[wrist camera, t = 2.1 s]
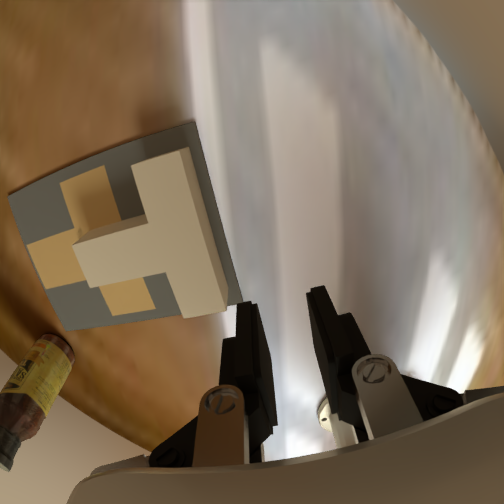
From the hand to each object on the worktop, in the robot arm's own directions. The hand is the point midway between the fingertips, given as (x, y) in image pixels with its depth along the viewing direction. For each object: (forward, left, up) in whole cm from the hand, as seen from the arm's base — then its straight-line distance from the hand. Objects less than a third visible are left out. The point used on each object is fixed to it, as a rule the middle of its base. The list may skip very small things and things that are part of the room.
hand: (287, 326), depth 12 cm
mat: (+16, 0, -17) cm, 23 cm away
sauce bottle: (+31, +12, -17) cm, 37 cm away
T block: (+11, 0, -17) cm, 20 cm away
